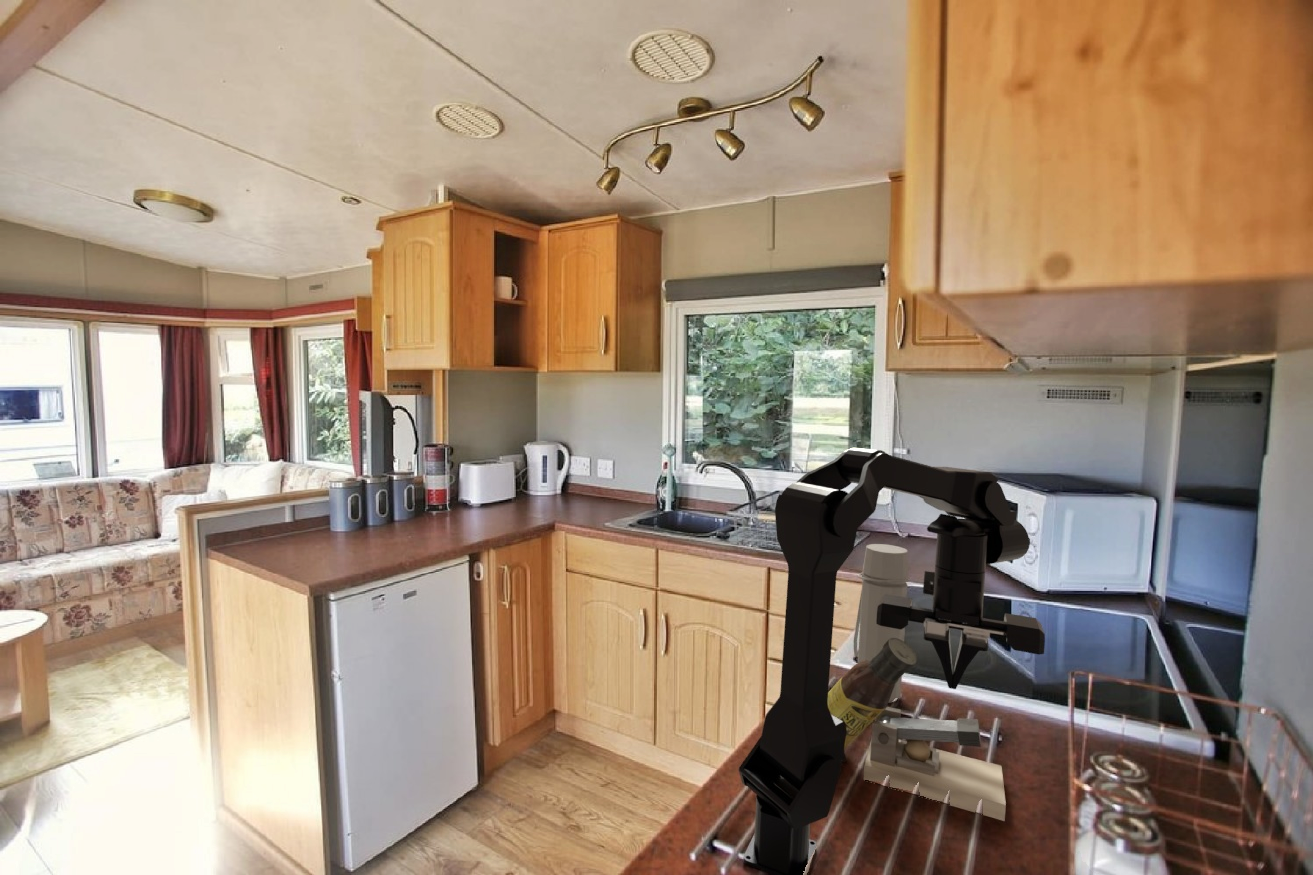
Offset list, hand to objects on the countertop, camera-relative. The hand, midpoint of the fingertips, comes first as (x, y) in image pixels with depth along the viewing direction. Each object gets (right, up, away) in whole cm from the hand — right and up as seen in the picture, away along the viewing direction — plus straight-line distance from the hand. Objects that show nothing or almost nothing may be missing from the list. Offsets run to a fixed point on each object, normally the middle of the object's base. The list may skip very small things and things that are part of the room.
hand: (952, 687), depth 79 cm
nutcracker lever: (-2, -7, +1) cm, 8 cm away
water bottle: (-1, -11, +26) cm, 28 cm away
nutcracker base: (-2, -13, +1) cm, 13 cm away
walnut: (-4, -9, +2) cm, 10 cm away
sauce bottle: (-15, -10, +8) cm, 20 cm away
